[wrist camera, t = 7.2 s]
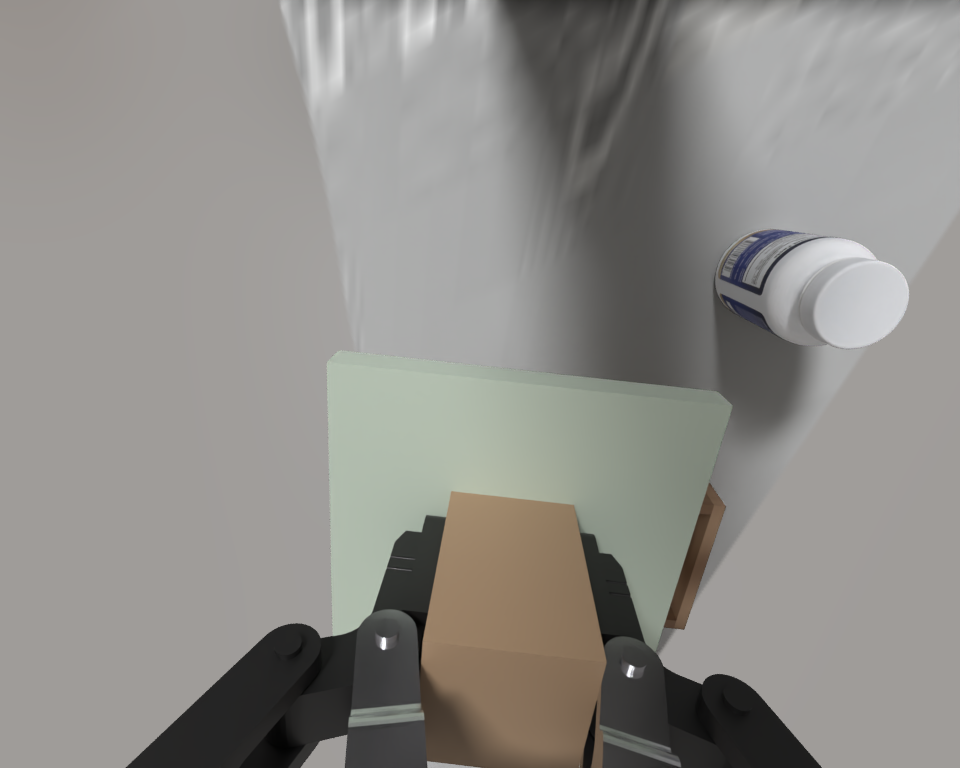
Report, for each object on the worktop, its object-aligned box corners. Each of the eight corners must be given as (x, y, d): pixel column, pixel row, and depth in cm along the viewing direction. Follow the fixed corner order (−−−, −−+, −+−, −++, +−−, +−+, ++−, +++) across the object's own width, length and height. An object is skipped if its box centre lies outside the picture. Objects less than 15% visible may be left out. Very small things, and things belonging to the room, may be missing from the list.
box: (551, 437, 36) (559, 488, 30) (688, 452, 36) (725, 506, 29) (532, 547, 39) (537, 612, 33) (657, 561, 39) (684, 629, 33)
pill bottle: (805, 302, 31) (927, 348, 22) (718, 324, 32) (801, 378, 23) (800, 216, 29) (930, 228, 20) (707, 242, 30) (793, 264, 21)
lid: (339, 350, 14) (222, 460, 8) (717, 391, 14) (864, 532, 8) (342, 629, 18) (264, 834, 12) (636, 664, 17) (696, 887, 12)
